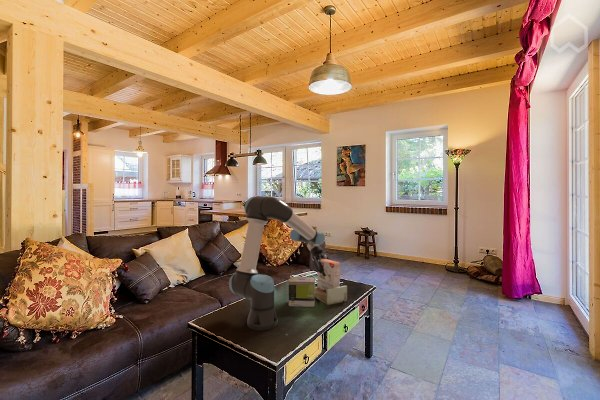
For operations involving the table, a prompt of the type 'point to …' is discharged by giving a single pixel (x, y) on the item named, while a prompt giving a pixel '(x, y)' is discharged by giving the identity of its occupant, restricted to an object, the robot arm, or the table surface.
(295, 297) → the tea box
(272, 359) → the table surface
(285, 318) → the table surface
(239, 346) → the table surface
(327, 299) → the book trough
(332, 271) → the cracker box
